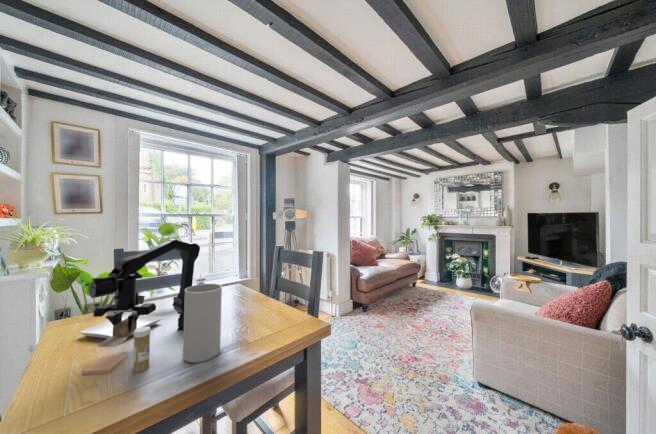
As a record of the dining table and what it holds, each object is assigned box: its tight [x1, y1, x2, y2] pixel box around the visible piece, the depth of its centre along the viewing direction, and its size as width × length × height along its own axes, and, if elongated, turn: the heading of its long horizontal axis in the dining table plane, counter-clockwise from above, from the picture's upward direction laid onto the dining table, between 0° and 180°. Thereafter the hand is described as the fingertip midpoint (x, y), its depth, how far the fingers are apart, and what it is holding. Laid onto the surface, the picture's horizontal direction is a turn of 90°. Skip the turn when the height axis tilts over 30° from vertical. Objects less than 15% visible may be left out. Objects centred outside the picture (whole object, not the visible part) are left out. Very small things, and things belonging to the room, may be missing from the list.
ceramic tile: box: [81, 354, 128, 375], centre depth 85 cm, size 8×2×9 cm
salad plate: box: [79, 313, 163, 339], centre depth 112 cm, size 21×21×3 cm
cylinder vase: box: [182, 283, 223, 364], centre depth 93 cm, size 12×12×25 cm
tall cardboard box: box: [97, 318, 137, 348], centre depth 92 cm, size 6×13×5 cm, turn 9°
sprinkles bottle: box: [132, 326, 152, 373], centre depth 83 cm, size 5×5×13 cm
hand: (125, 332), depth 95 cm, fingers closed on tall cardboard box, 3 cm apart
